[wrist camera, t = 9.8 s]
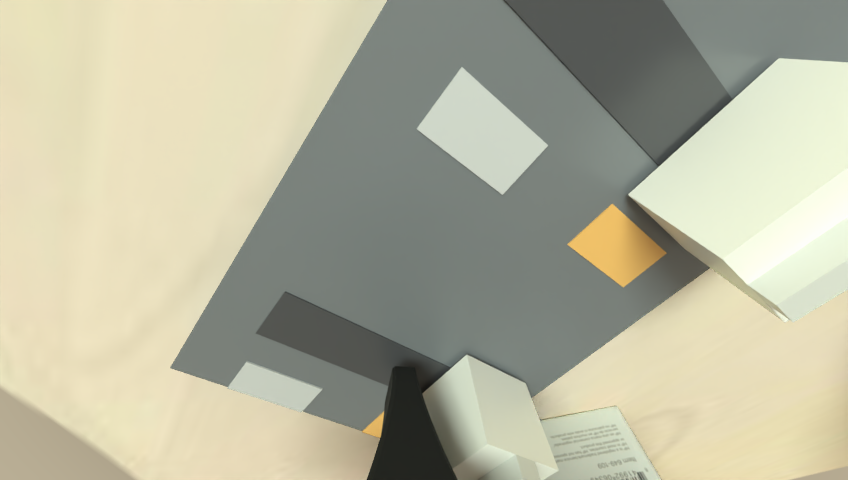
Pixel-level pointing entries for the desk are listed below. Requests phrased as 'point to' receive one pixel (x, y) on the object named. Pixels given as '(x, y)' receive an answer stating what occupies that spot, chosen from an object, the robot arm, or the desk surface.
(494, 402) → the switch tab
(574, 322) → the switch board
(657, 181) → the switch tab
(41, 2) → the desk surface
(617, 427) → the ink box
